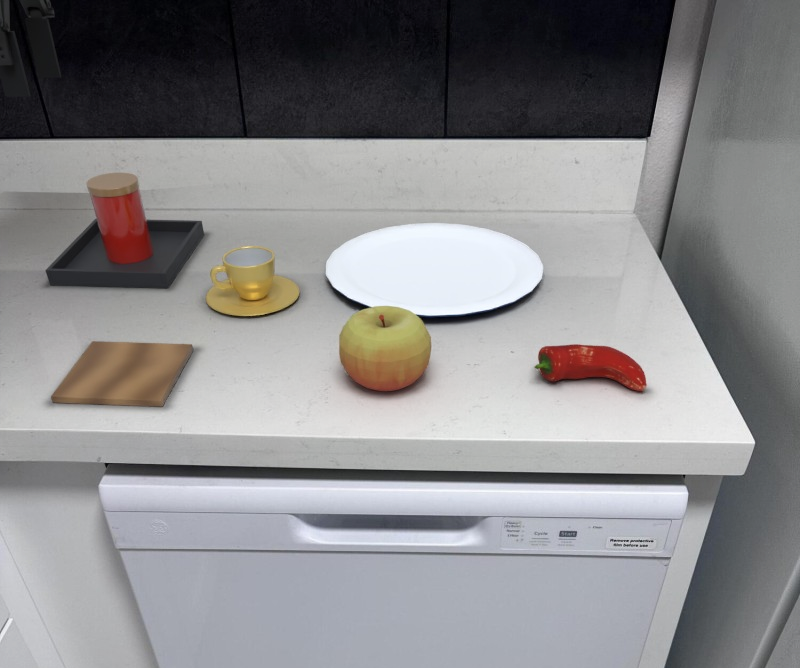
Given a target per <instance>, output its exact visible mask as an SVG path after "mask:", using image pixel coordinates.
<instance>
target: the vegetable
mask: <svg viewBox="0 0 800 668" xmlns="http://www.w3.org/2000/svg"><path fill="white" fill-rule="evenodd" d="M537 361H538V364H536V365H535V366H534V367H533V368H534V369H535V370H539V372H540V374H541V376H542V377H543V378H544V379H546V380H547V381H549V382H558V381H563V380H580V379H581V380H582V379H587V378H606V379H611V380H614V381H616V382H618V383H619V384H622V385H623V386H624V387H625V388H628V389H630V390H633V391H638V392H642V391H644V390H645V389H647V378H646V374H645V371H644V370H643V368H642V366H641V365H640V364H639V363H638V362H637V361H636V360H635V359H634V358H633V357H631V356H630V355H628V354H627V353H625V352H623V351H621V350H619V349H616V348H614V347H613V346H608V345H594V344H593V345H591V344H589V345H588V344H576V343H575V344H563V345H561V344H560V345H545V346H543V347H541V348H539V351H538V354H537Z"/></svg>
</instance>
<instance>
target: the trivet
mask: <svg viewBox="0 0 800 668" xmlns="http://www.w3.org/2000/svg"><path fill="white" fill-rule="evenodd" d="M193 352H194V347H193V344H191V343H161V342H160V343H159V342H132V341H131V342H129V341H101V340H100V341H99V340H93V341H91V342H90V343H89V345H88V346H87V348H86V349H85V350H84V352H83V353H82V355H80V357H79V358H78V359H77V361H75V363H74V365H73V366H72V368H71V369H70V370H69V371H68V373H67V374H66V376H64V378H63V379H62V380H61V382H60V384H59V385H58V386H57V387H56V389H55V390H54V391H53V393H52V394H51V395H50V398H51V401H52V403H53V404H76V405H77V404H79V405H81V404H82V405H106V406H108V405H111V406H134V407H135V406H137V407H162V408H163V406H164V404H165V403H166V401H167V399H168V397H169V395H170V394H171V392H172V390H173V388H174V386H175V385H176V383H177V381H178V380H179V377H180V375H181V374H182V372H183V370H184V368H185V367H186V364H187V363H188V361H189V359H190V358H191V355H192V353H193Z"/></svg>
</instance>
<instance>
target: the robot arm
mask: <svg viewBox="0 0 800 668" xmlns="http://www.w3.org/2000/svg"><path fill="white" fill-rule="evenodd" d="M19 2H20V4H21V6H22V8H23V10H24V12H25V15H26V16H27V18H24V23H25V26H26V31H27V35H28V39H29V43H30V47H31V51H32V55H33V60H34V63H35V68H36V71H37V75H38V78H39V79H61V78H62V72H61V68H60V63H59V60H58V55H57V52H56V46H55V42H54V38H53V33H52V28H51V25H50V21H49V18H55V10H54V7H52V3H51V1H50V0H19ZM10 17H11V15H10V0H0V82H1V87H2V90H3V93H4V97H5V98H29V97H31V96H32V95H31V91H30V87H29V82H28V80H27V75H26V70H25V68H24V63H23V59H22V56H21V52H20V48H19V43H18V40H17V37H16V32H15V30H11V22H10V21H11V19H10Z"/></svg>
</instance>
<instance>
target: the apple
mask: <svg viewBox="0 0 800 668" xmlns="http://www.w3.org/2000/svg"><path fill="white" fill-rule="evenodd" d="M338 338H339V339H338V344H339V345H338V346H339V347H338V355H339V359H340V360H339V361H340V364H341V366H342V367H343V369H344V370H345V371H346V372H347V374H348V376H350V378H351V379H352V380H353V381H354V382H355V383H356V384H358V385H360V386H362V387H364V388H367V389H368V390H373V391H378V392H392V391H398V390H402V389H404V388H406V387H408V386H410V385H412V384H414V383H415V382H416V381H417V380H418V379H419V378H420V377H422V376H423V374H425V371H426V370H427V368H428V366H429V365H430V359H431V354H432V336H431V334H430V333H429V331H428V328H427V326H426V325H425V323H424V321H423V320H422V318H421V317H420V316H417V315H415V314H414V313H412V312H411V311H409V310H406V309H403V308H400V307H393V306H375V307H371V308H369V307H366V308H364V309H361V310H359V311H357V312H356V313H353V314H352V316H350V317H349V319H348V320H347V321H346V323H345V324H344V325H343V326H342V328H341V330H340V333H339V337H338Z"/></svg>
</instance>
